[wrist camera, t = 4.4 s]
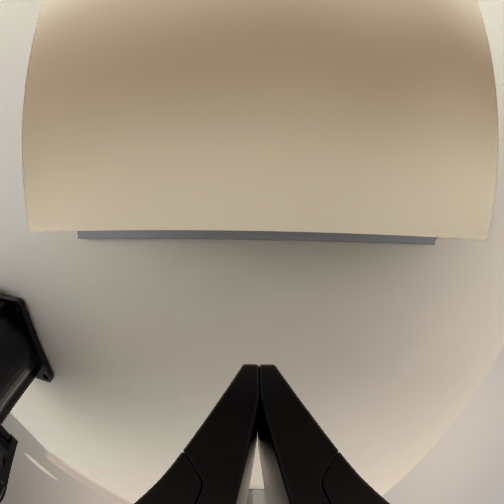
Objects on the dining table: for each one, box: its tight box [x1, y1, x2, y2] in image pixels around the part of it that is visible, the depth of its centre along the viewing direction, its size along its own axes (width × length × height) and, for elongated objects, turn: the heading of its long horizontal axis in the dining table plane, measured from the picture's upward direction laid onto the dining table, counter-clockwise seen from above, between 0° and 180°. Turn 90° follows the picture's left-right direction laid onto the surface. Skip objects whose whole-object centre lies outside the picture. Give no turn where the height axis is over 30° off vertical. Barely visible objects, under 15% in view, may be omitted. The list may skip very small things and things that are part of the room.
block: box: [22, 0, 498, 240], centre depth 7 cm, size 6×10×6 cm, turn 89°
